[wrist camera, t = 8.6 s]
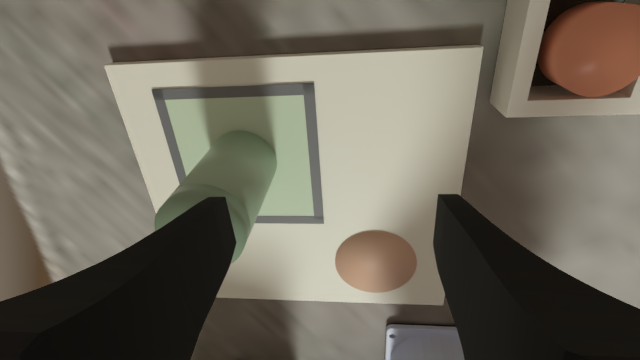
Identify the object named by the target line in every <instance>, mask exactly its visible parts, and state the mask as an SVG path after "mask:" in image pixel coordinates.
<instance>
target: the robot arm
mask: <svg viewBox="0 0 640 360" xmlns="http://www.w3.org/2000/svg"><path fill="white" fill-rule="evenodd" d="M236 243H237V242H236V238H235V234H234V230H233V226H232V222H231V218H230V214H229V210H228V205H227V201H226V197H208V198H206V199H204V200H202V201H201V202H199V203H197V204H196V205H194V206H193V207H191V208H190V209H188V210H187V211H185V212H184V213H182V214H181V215H179V216H178V217H176V218H175V219H173V220H172V221H170V222H169V223H167V224H166V225H164V226H163V227H161V228H160V229H158V230H157V231H155V232H153V233H152V234H150V235H148V236H147V237H145V238H144V239H142V240H140V241H139V242H137V243H136V244H134V245H132V246H130V247H129V248H127V249H125V250H123V251H121V252H120V253H118V254H116V255H114V256H112V257H110V258H108V259H106V260H104V261H102V262H100V263H98V264H96V265H93V266H91V267H89V268H87V269H85V270H82V271H80V272H78V273H76V274H73V275H71V276H69V277H67V278H64V279H62V280H59V281H57V282H54V283H52V284H49V285H47V286H44V287H41V288H39V289H36V290H33V291H31V292H28V293H25V294H22V295H19V296H16V297H13V298H10V299H7V300H4V301H1V302H0V360H190V359H191V356H192V353H193V350H194V348H195V345H196V342H197V339H198V336H199V333H200V331H201V329H202V326H203V324H204V321H205V319H206V317H207V315H208V313H209V311H210V309H211V306H212V304H213V302H214V300H215V298H216V296H217V294H218V291H219V289H220V287H221V285H222V283H223V280H224V278H225V276H226V274H227V272H228V269H229V267H230V264H231V260H232V257H233V254H234V250H235V247H236ZM433 248H434V253H435V259H436V264H437V269H438V273H439V276H440V279H441V282H442V286H443V289H444V292H445V295H446V298H447V301H448V304H449V307H450V310H451V313H452V316H453V319H454V322H455V325H456V327H447V326H423V325H399V324H390V325H388V326H387V327H386V344H385V360H640V309H638V308H636V307H634V306H632V305H629V304H627V303H625V302H622V301H620V300H618V299H616V298H614V297H612V296H609V295H607V294H605V293H603V292H601V291H599V290H597V289H595V288H593V287H591V286H589V285H587V284H585V283H583V282H581V281H580V280H578V279H576V278H574V277H572V276H570V275H568V274H567V273H565V272H563V271H561V270H559V269H558V268H556V267H554V266H553V265H551V264H549V263H548V262H546V261H545V260H543V259H541V258H540V257H538V256H536V255H535V254H533V253H532V252H530V251H529V250H527V249H526V248H525V247H523V246H522V245H520V244H519V243H518V242H516V241H515V240H513V239H512V238H511V237H509V236H508V235H507V234H505V233H504V232H503V231H501V230H500V229H499V228H498V227H496V226H495V225H494V224H493V223H491V222H490V221H489V220H488V219H486V218H485V217H484V216H483V215H482V214H481V213H479V212H478V211H477V210H476V209H475V208H474V207H472V206H471V205H470V204H469V203H468V202H467V201H466V200H464V199H463V198H462V197H461V196H460V195H458V194H438V199H437V209H436V218H435V228H434V237H433Z"/></svg>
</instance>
